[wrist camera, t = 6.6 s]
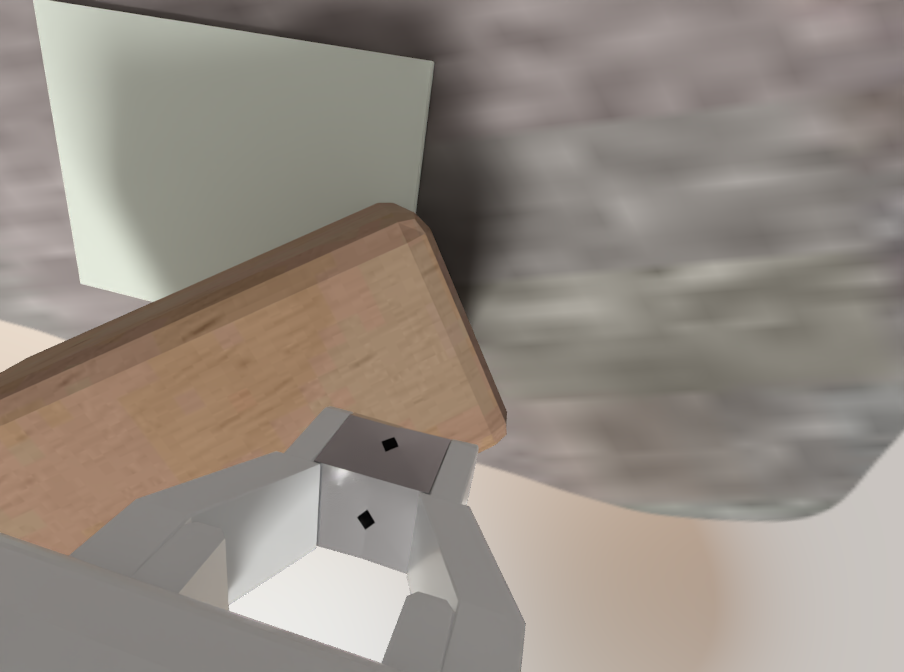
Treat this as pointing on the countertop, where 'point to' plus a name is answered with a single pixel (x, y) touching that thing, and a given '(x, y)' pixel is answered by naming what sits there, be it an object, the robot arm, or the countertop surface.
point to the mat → (217, 141)
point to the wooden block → (242, 375)
